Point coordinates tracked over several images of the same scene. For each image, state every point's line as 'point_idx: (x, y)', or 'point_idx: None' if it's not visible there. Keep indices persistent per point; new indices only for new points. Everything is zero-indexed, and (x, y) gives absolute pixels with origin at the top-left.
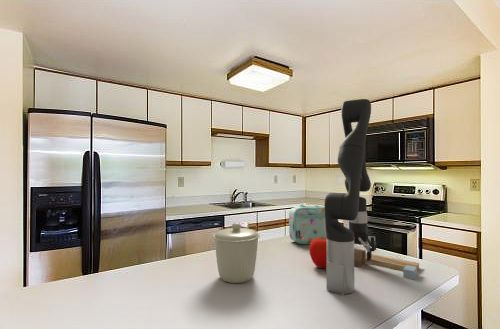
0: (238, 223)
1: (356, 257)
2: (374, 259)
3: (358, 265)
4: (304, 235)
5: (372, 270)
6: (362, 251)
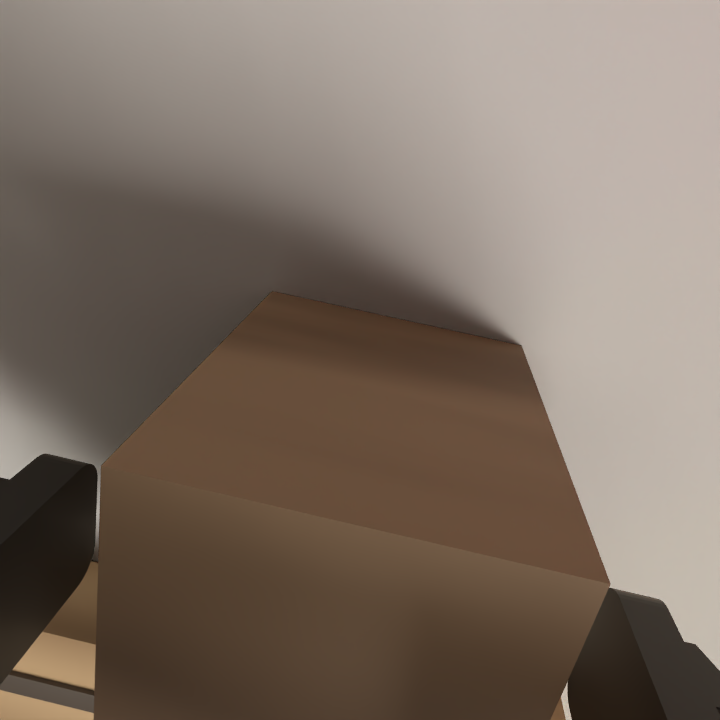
0: None
1: (342, 405)
2: (38, 658)
3: (322, 312)
4: None
5: (11, 203)
6: (125, 711)
